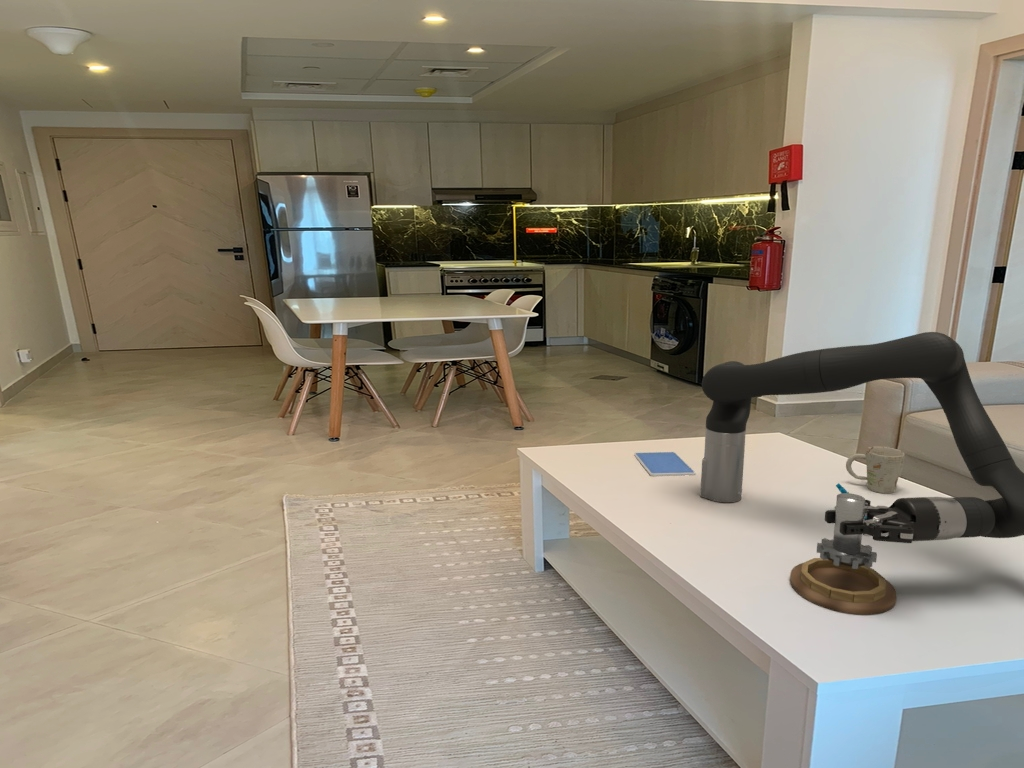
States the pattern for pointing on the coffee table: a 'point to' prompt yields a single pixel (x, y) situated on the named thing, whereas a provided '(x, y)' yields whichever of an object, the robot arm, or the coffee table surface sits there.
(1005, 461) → the robot arm
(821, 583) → the carrier disc
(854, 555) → the gear
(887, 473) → the mug
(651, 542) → the coffee table surface
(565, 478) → the coffee table surface
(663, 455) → the blue flat plate
